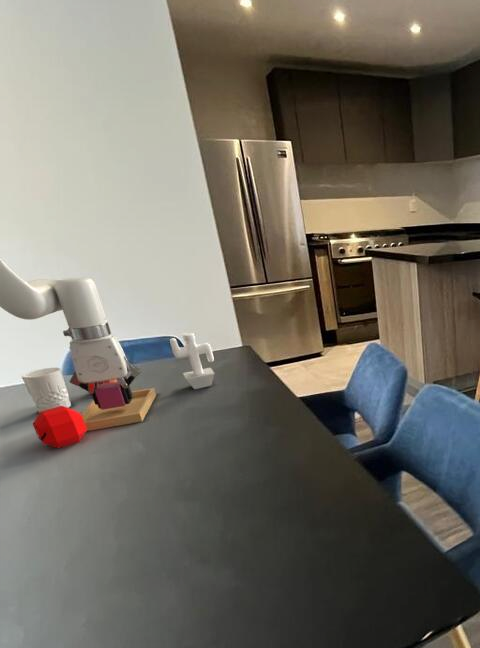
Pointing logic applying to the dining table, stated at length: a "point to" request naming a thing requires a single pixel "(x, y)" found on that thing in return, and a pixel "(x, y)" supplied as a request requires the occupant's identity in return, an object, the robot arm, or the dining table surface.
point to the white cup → (47, 388)
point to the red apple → (59, 426)
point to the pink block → (110, 395)
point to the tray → (119, 411)
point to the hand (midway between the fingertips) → (115, 403)
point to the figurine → (195, 360)
